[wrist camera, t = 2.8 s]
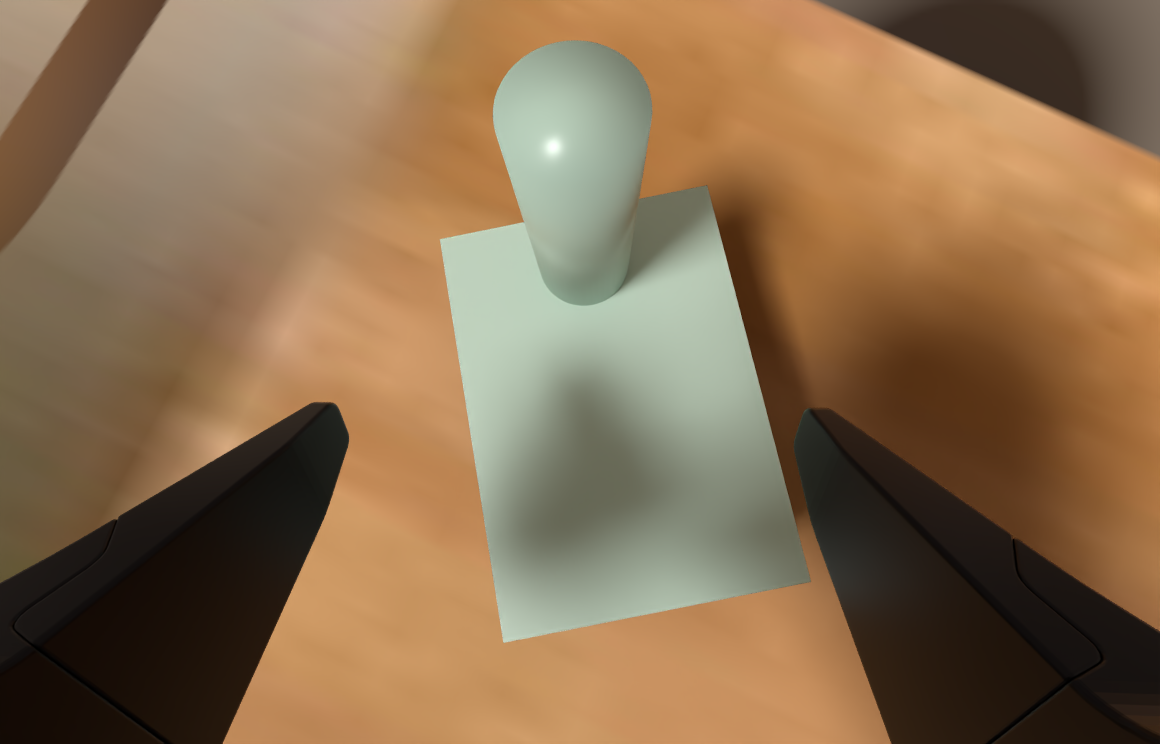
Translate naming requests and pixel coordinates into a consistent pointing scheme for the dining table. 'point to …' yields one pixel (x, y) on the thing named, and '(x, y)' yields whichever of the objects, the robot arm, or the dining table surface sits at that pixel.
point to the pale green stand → (609, 370)
